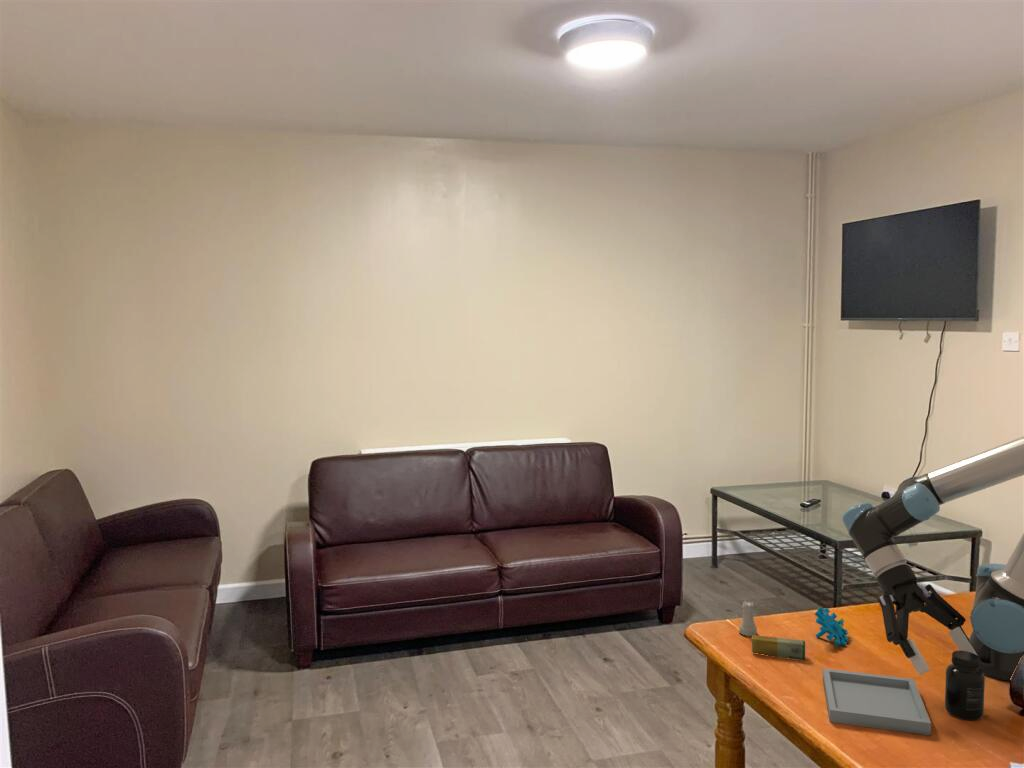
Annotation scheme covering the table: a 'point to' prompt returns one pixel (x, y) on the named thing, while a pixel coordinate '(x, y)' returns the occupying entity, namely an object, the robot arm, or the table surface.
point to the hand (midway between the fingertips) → (949, 665)
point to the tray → (875, 701)
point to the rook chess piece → (748, 620)
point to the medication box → (779, 647)
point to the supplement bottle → (965, 686)
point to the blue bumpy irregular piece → (831, 627)
